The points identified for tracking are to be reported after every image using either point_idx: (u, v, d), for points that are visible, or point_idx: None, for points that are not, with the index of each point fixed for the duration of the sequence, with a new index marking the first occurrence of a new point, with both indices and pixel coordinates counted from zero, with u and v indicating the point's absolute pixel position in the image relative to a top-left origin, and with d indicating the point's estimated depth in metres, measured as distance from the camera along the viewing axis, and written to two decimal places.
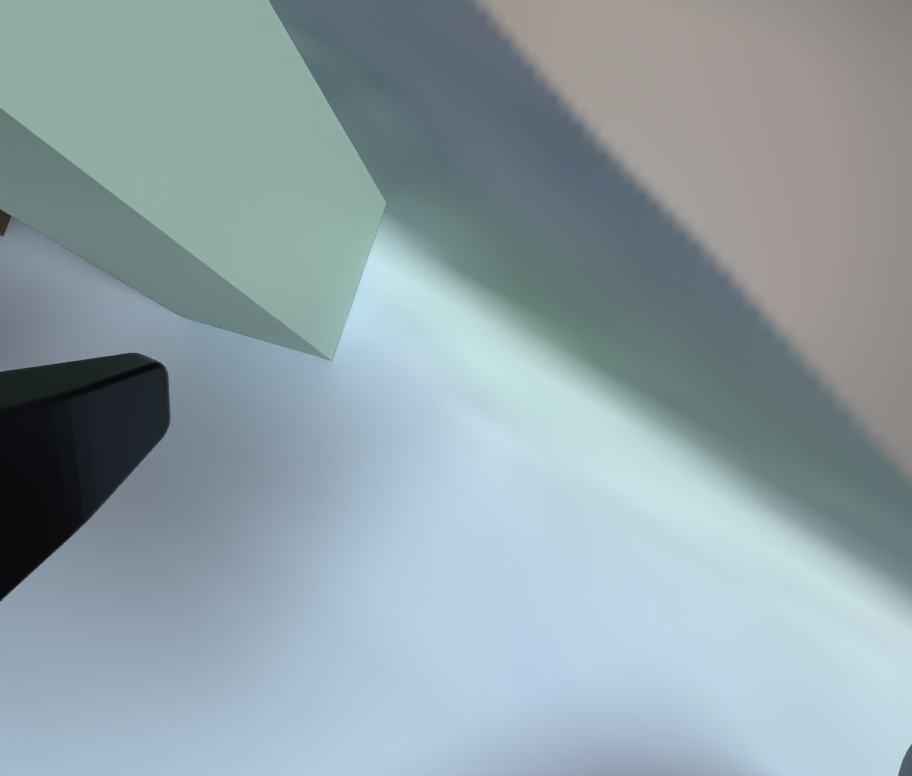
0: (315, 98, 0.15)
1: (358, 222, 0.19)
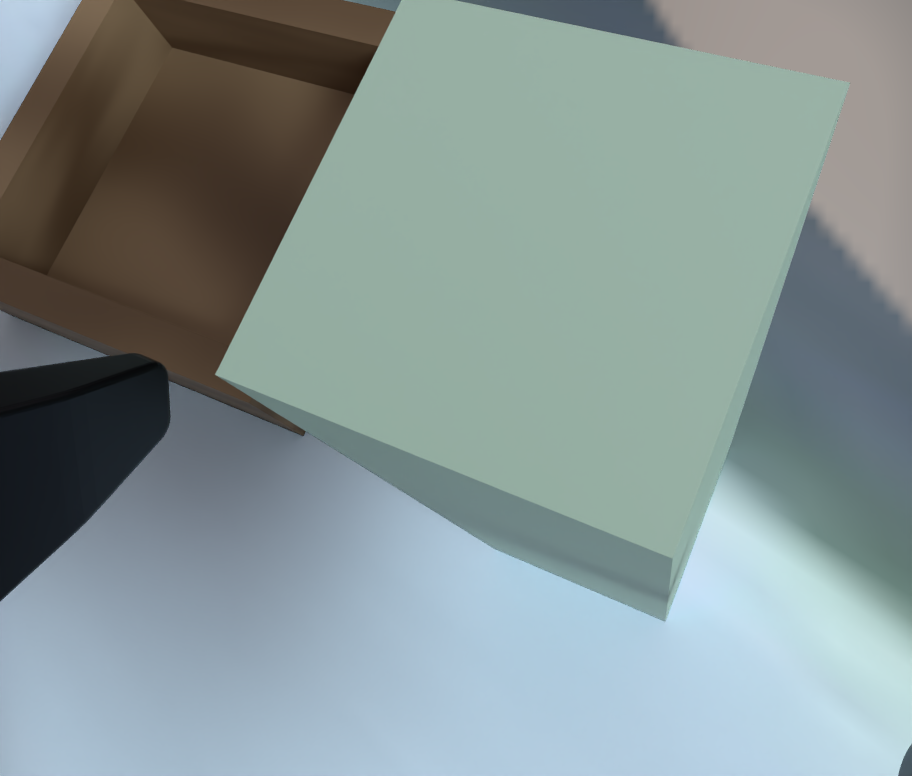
0: (747, 390, 0.14)
1: (716, 481, 0.17)
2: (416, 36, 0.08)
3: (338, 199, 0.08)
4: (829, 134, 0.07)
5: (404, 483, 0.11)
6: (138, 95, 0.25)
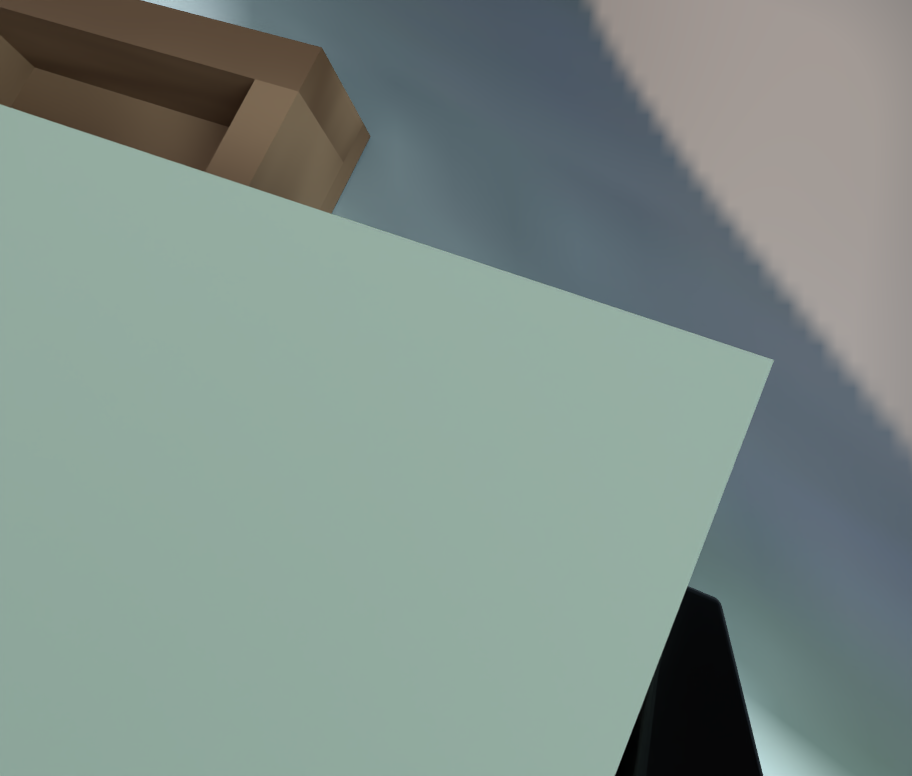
0: None
1: None
2: None
3: None
4: (720, 491, 0.03)
5: None
6: None
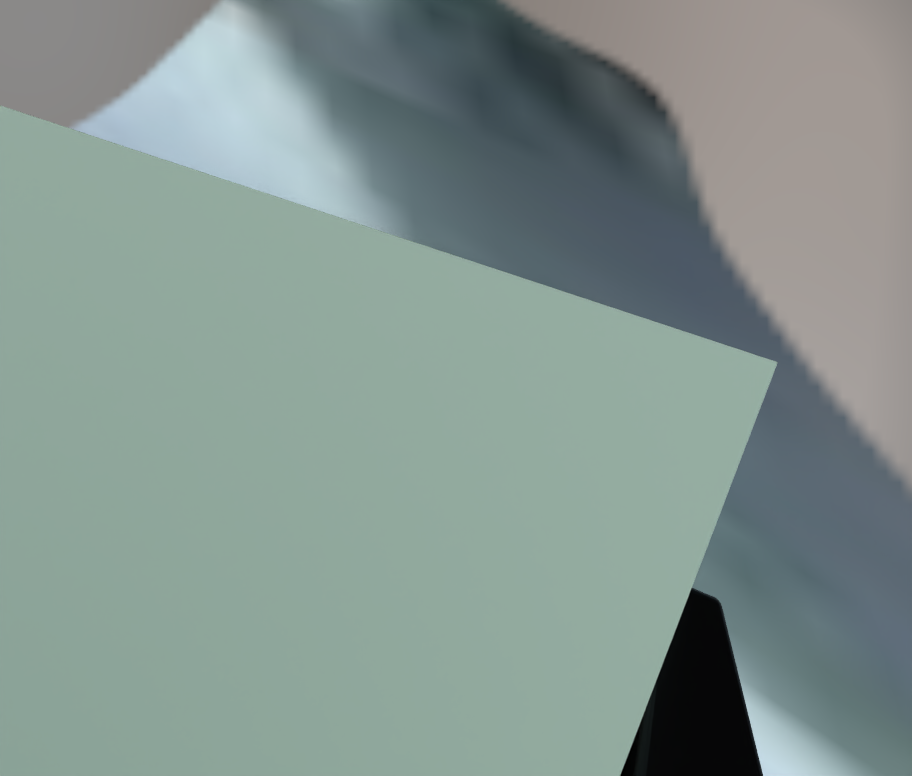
0: None
1: None
2: None
3: None
4: (724, 491, 0.03)
5: None
6: None
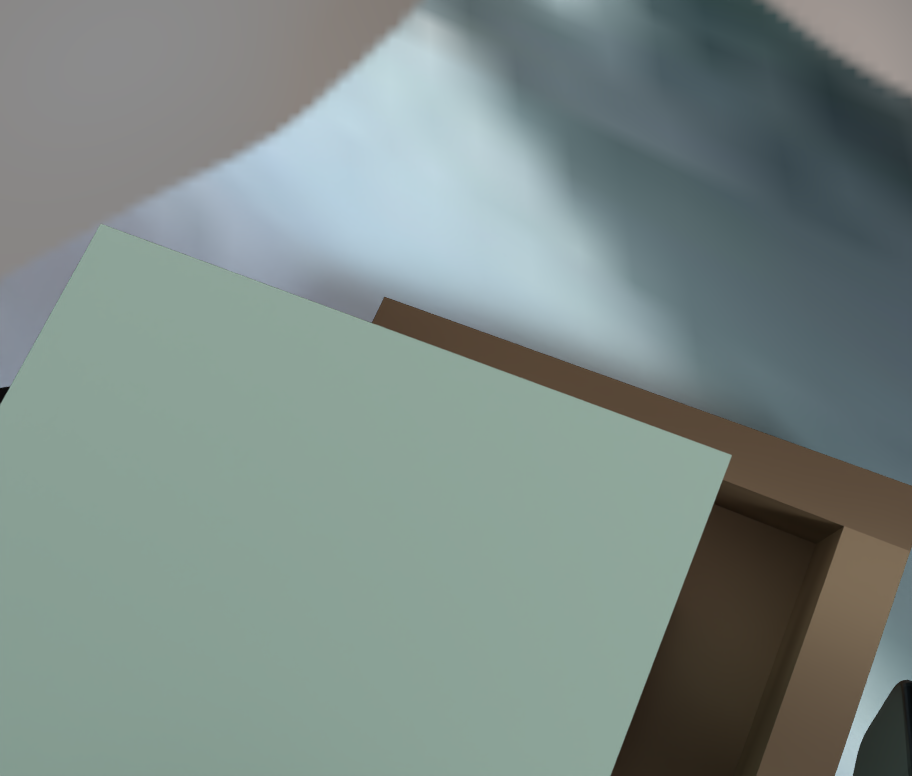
0: None
1: None
2: (105, 301, 0.05)
3: None
4: (696, 544, 0.04)
5: None
6: None
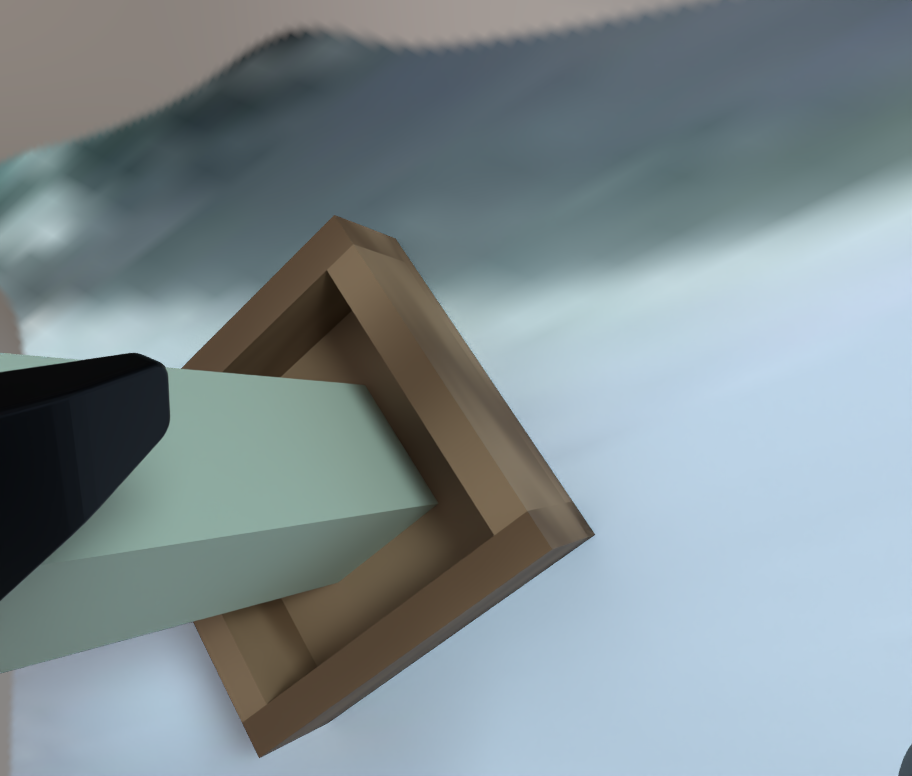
0: (244, 381, 0.20)
1: (357, 413, 0.23)
2: None
3: None
4: None
5: (73, 641, 0.16)
6: None
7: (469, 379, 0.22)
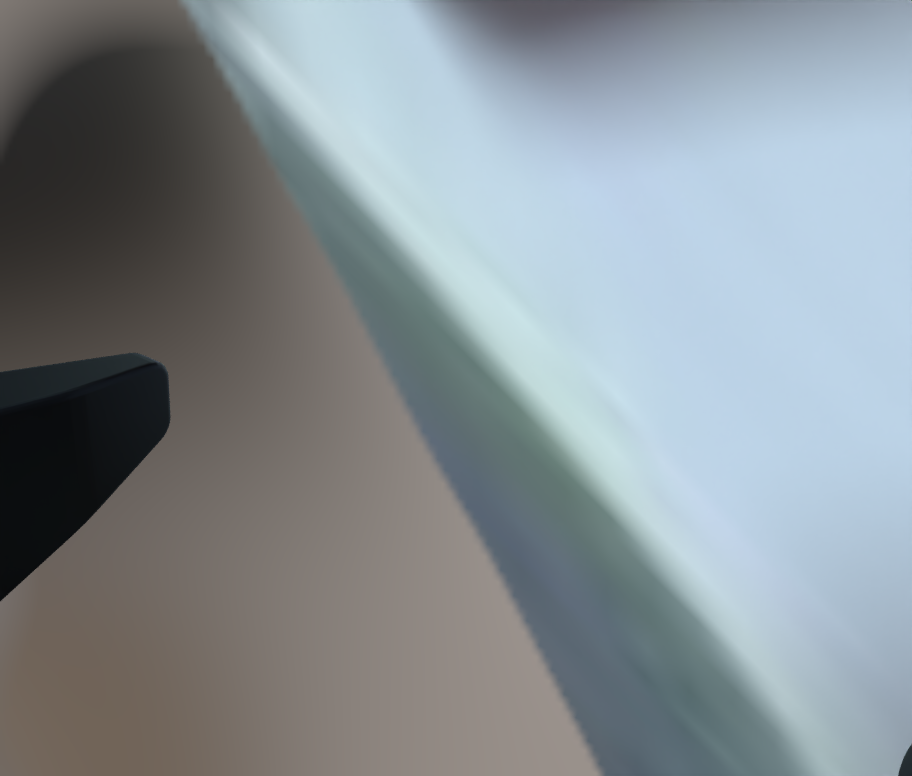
0: None
1: None
2: None
3: None
4: None
5: None
6: None
7: None
